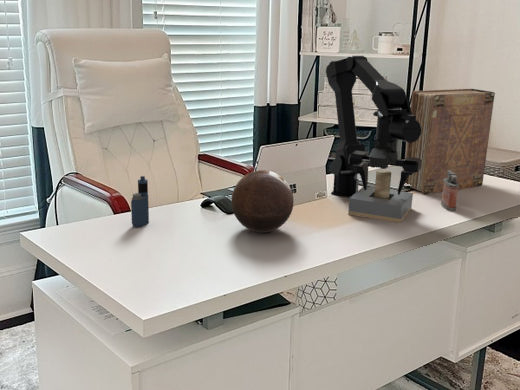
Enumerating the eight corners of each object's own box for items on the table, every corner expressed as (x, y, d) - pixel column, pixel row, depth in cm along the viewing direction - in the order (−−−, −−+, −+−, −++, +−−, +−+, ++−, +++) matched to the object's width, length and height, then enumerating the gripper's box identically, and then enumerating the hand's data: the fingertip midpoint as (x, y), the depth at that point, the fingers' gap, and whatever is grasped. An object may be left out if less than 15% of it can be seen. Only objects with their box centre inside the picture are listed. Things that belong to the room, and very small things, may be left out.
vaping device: (151, 222, 154) (150, 176, 151) (138, 228, 150) (137, 181, 146) (142, 220, 155) (141, 174, 152) (129, 226, 151) (128, 179, 147)
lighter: (458, 211, 170) (462, 176, 167) (446, 211, 170) (450, 176, 167) (450, 202, 178) (454, 169, 175) (438, 202, 178) (442, 169, 175)
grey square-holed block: (348, 214, 165) (349, 198, 164) (362, 201, 177) (363, 186, 176) (400, 222, 159) (401, 206, 158) (411, 208, 172) (412, 193, 170)
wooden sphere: (299, 239, 145) (302, 178, 141) (236, 242, 142) (237, 180, 138) (283, 219, 159) (286, 163, 155) (226, 221, 156) (227, 164, 152)
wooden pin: (371, 208, 167) (374, 172, 164) (375, 204, 171) (378, 169, 168) (386, 210, 165) (389, 174, 163) (389, 207, 169) (392, 171, 166)
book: (422, 194, 186) (433, 94, 177) (402, 186, 193) (411, 91, 185) (482, 185, 197) (495, 91, 189) (461, 179, 205) (472, 88, 197)
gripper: (343, 136, 159) (339, 194, 163) (416, 144, 152) (410, 205, 156) (356, 129, 169) (352, 184, 173) (425, 137, 161) (418, 194, 166)
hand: (382, 192), depth 167 cm, fingers open, 9 cm apart
